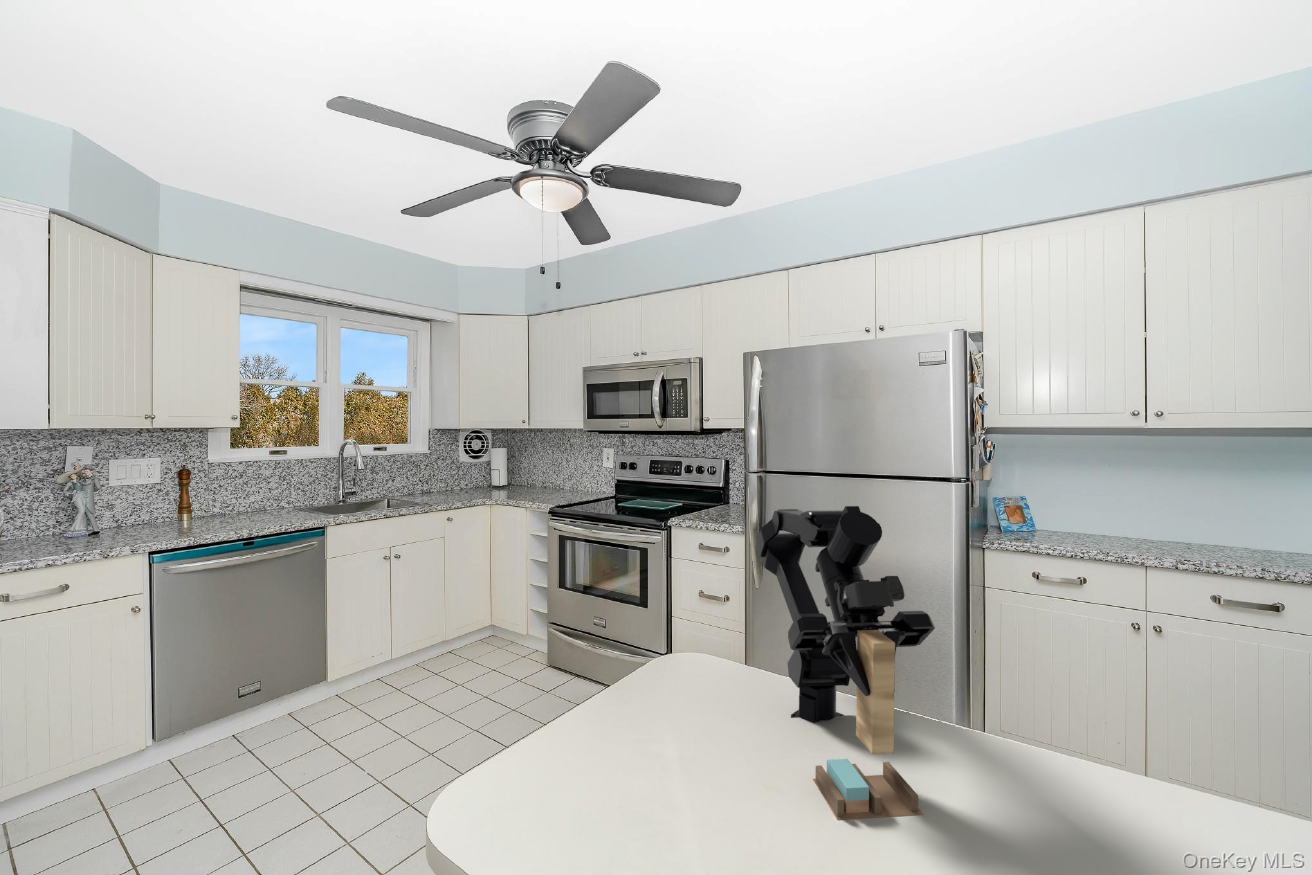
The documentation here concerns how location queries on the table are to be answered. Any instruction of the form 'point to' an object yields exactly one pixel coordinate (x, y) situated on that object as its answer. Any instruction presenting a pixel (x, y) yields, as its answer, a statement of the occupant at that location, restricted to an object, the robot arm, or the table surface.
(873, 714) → the oak board
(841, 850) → the table surface
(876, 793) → the rack
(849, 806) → the offcut lower
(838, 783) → the offcut upper
